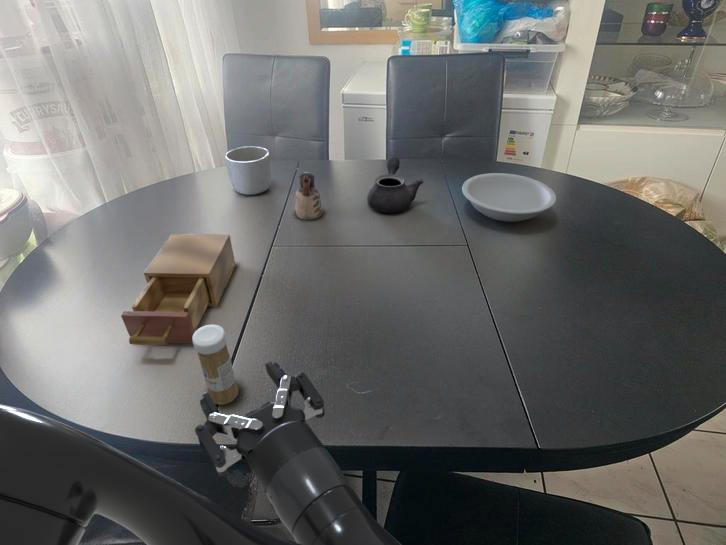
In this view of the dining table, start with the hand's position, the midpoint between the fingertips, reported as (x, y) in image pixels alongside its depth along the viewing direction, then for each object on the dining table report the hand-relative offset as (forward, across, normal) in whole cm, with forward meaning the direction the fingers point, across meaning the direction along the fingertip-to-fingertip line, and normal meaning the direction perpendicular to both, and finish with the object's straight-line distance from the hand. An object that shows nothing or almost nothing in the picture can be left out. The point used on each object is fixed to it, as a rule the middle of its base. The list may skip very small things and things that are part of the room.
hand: (238, 381), depth 58 cm
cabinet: (+42, -7, +13) cm, 44 cm away
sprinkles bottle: (+10, 0, +13) cm, 17 cm away
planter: (+78, -36, +13) cm, 87 cm away
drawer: (+31, +2, +12) cm, 33 cm away
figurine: (+55, -42, +13) cm, 70 cm away
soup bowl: (+24, -85, +14) cm, 89 cm away
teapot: (+48, -66, +13) cm, 82 cm away
